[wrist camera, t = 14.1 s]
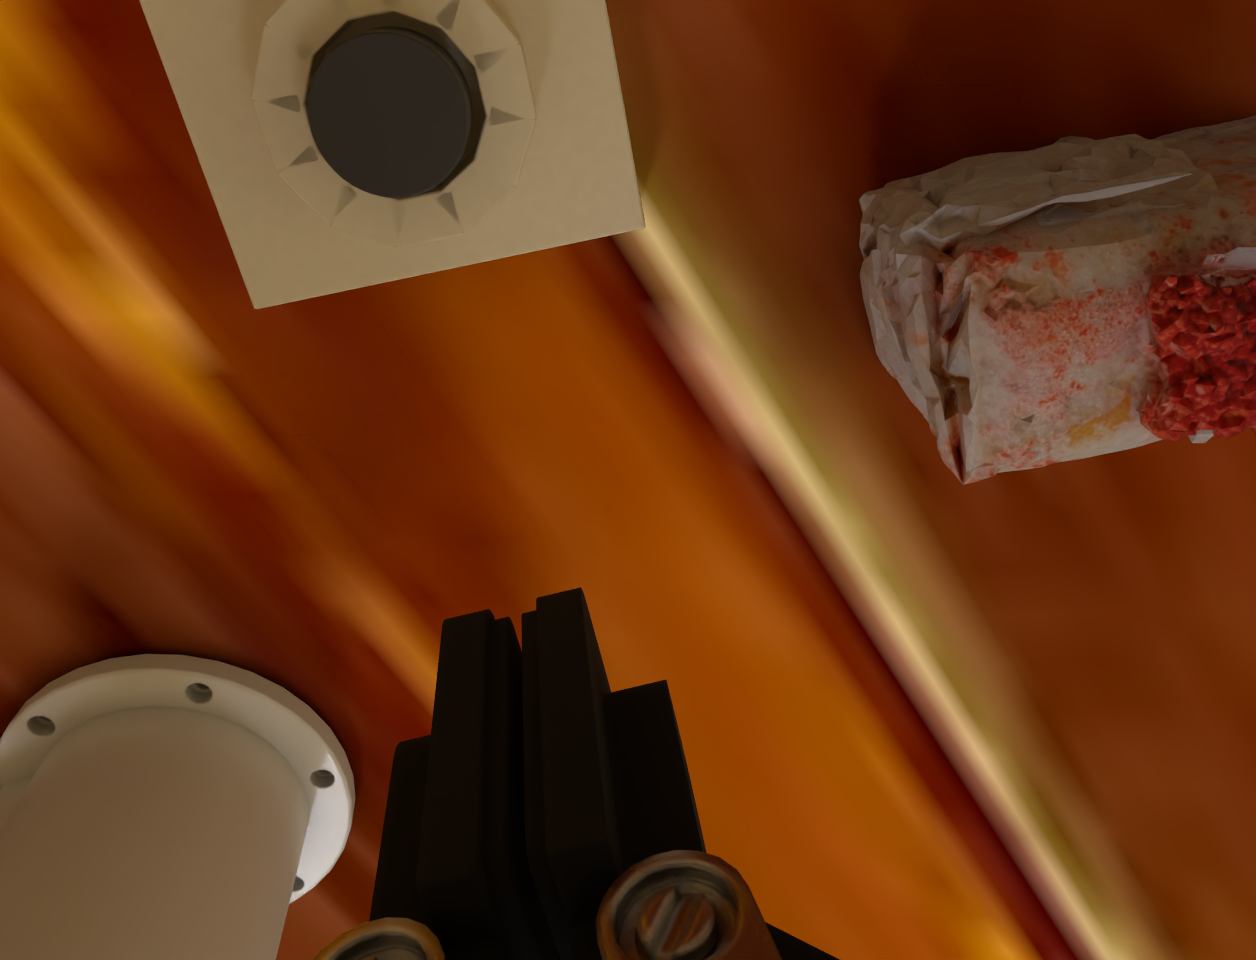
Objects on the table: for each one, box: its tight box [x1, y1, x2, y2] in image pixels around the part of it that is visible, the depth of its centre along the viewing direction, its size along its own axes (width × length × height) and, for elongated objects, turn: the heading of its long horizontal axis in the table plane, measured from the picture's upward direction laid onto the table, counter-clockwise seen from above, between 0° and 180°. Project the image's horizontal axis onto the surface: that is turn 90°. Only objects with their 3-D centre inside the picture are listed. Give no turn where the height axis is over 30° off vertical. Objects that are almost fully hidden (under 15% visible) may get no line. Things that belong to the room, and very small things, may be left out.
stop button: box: [308, 26, 472, 198], centre depth 24 cm, size 4×4×2 cm
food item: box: [859, 115, 1256, 484], centre depth 27 cm, size 14×8×10 cm, turn 102°
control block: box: [139, 0, 645, 309], centre depth 26 cm, size 11×9×4 cm
